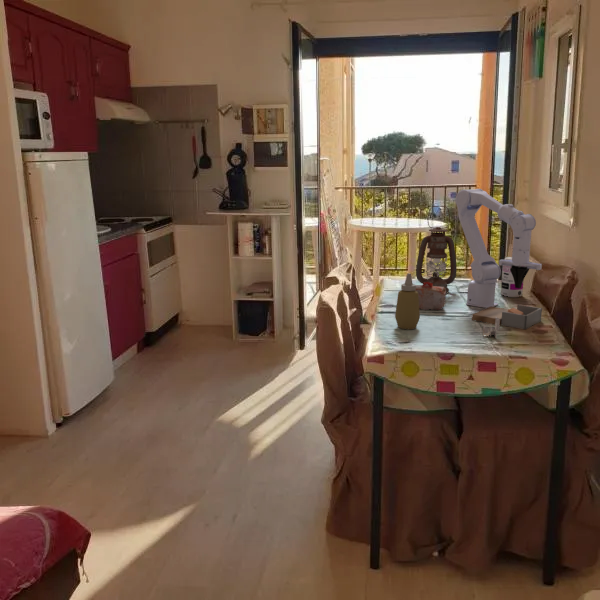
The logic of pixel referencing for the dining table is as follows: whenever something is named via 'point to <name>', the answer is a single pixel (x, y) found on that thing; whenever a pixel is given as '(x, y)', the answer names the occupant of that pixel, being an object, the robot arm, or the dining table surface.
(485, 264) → the robot arm
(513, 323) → the box
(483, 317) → the walnut plate
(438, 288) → the food item
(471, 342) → the dining table surface
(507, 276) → the supplement can
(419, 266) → the lantern
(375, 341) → the dining table surface
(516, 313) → the tile terracotta
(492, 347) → the dining table surface
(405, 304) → the squeeze bottle
